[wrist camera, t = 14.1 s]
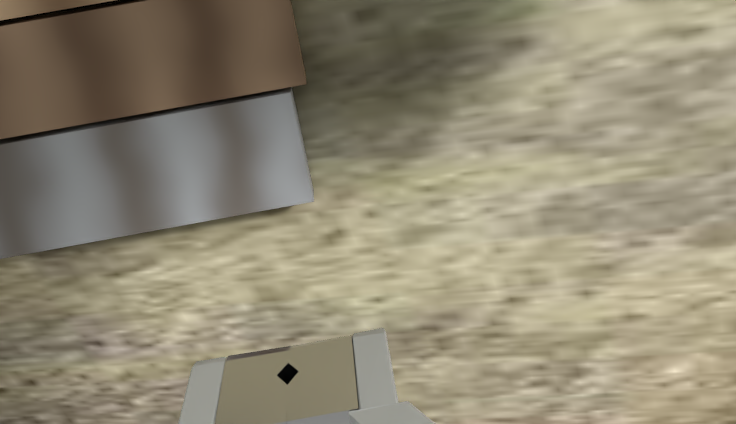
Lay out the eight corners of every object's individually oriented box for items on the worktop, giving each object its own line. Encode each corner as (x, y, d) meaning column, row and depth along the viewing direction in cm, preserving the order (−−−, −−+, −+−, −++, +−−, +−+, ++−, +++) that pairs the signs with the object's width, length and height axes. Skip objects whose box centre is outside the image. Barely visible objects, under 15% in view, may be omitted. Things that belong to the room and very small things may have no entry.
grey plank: (291, 85, 38) (290, 92, 36) (313, 190, 41) (313, 201, 39) (-33, 143, 38) (-51, 153, 36) (12, 244, 41) (-2, 259, 39)
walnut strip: (285, -28, 35) (284, -24, 33) (306, 75, 38) (306, 84, 36) (-101, 40, 35) (-123, 48, 33) (-52, 139, 38) (-69, 151, 36)
